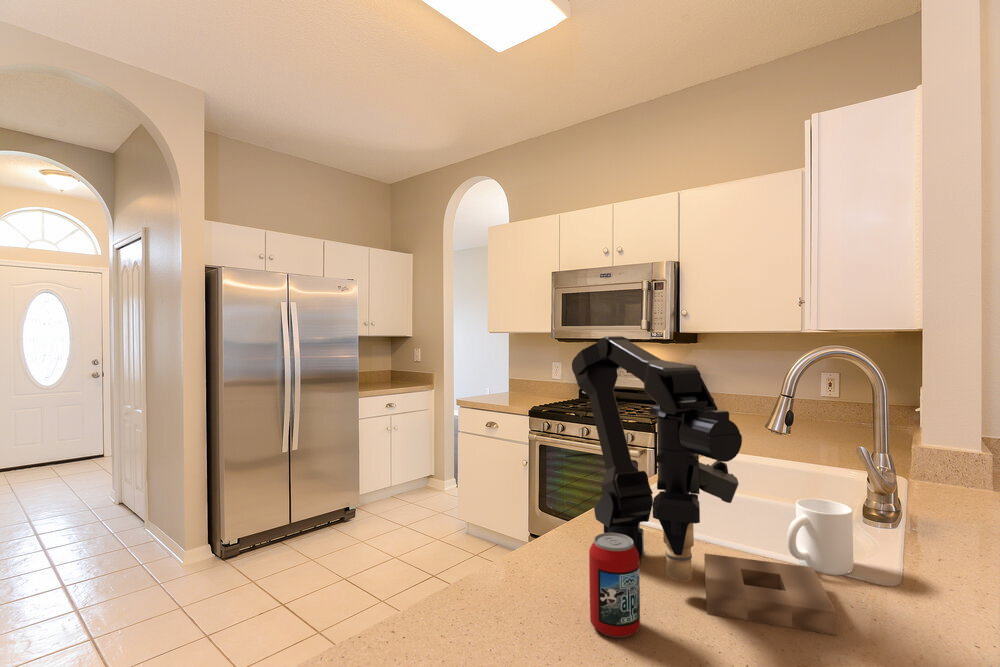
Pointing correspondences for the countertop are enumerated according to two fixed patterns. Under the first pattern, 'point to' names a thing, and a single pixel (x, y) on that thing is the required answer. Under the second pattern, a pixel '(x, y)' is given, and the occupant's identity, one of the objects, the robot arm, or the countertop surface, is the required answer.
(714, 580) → the board
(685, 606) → the countertop surface
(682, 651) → the countertop surface
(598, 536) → the beverage can
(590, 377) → the robot arm
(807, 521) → the mug
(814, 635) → the countertop surface
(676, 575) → the peg
